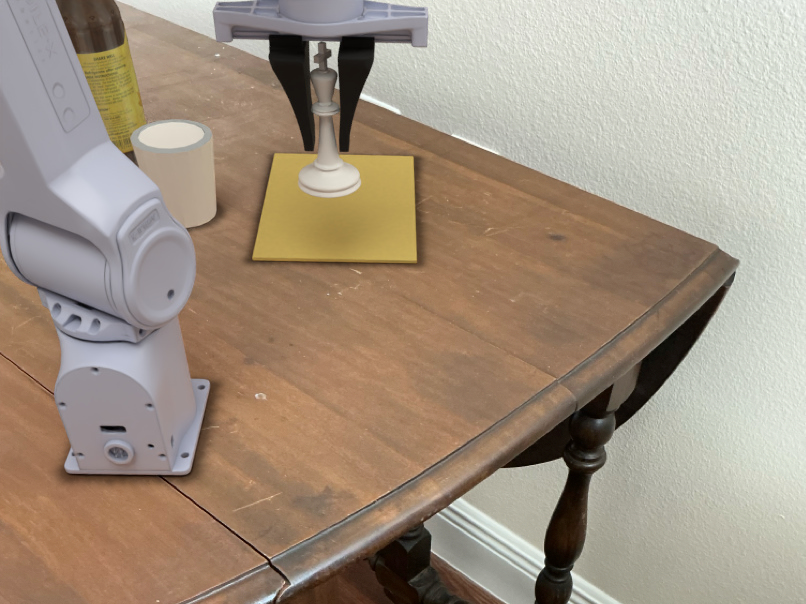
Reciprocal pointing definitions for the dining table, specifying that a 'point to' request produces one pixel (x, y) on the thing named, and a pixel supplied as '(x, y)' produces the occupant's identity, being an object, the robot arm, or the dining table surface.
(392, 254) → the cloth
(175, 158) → the cream cylinder
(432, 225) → the dining table surface
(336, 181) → the chess piece
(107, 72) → the sauce bottle
